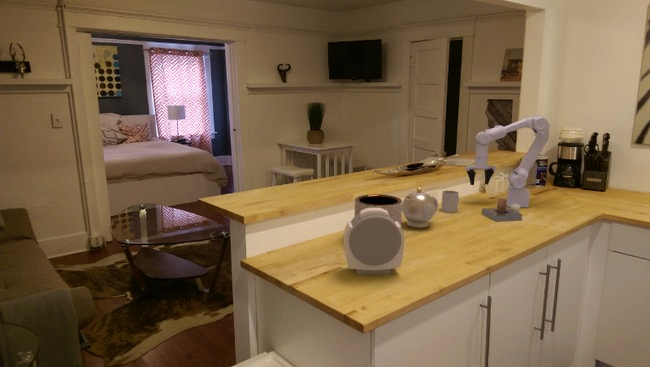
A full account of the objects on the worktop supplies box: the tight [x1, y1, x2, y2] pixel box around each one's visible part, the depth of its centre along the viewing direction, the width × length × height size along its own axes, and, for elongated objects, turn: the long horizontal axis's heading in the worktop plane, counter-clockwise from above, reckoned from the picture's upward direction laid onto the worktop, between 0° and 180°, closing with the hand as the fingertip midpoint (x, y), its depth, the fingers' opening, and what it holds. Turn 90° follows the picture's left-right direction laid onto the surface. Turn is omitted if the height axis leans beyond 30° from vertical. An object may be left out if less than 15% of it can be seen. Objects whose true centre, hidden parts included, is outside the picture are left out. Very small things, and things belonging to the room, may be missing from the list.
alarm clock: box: [343, 208, 406, 276], centre depth 136 cm, size 18×8×20 cm, turn 92°
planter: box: [353, 193, 403, 228], centre depth 165 cm, size 18×18×16 cm
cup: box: [441, 190, 460, 214], centre depth 206 cm, size 7×10×9 cm
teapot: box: [402, 186, 439, 229], centre depth 183 cm, size 18×14×16 cm
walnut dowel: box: [496, 198, 507, 213], centre depth 196 cm, size 4×4×8 cm
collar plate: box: [481, 206, 523, 222], centre depth 196 cm, size 12×12×2 cm
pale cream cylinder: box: [510, 204, 521, 214], centre depth 201 cm, size 4×4×4 cm
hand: (479, 184), depth 216 cm, fingers open, 7 cm apart
